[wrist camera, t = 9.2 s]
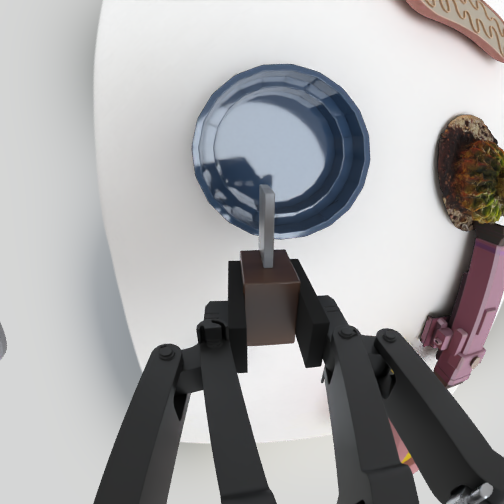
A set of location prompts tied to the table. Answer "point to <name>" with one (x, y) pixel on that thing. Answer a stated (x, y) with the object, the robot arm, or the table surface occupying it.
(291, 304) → the blade walnut
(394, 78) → the table surface
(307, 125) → the bowl
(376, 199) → the table surface
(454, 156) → the cactus
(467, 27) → the anatomical model
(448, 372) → the electronic device
